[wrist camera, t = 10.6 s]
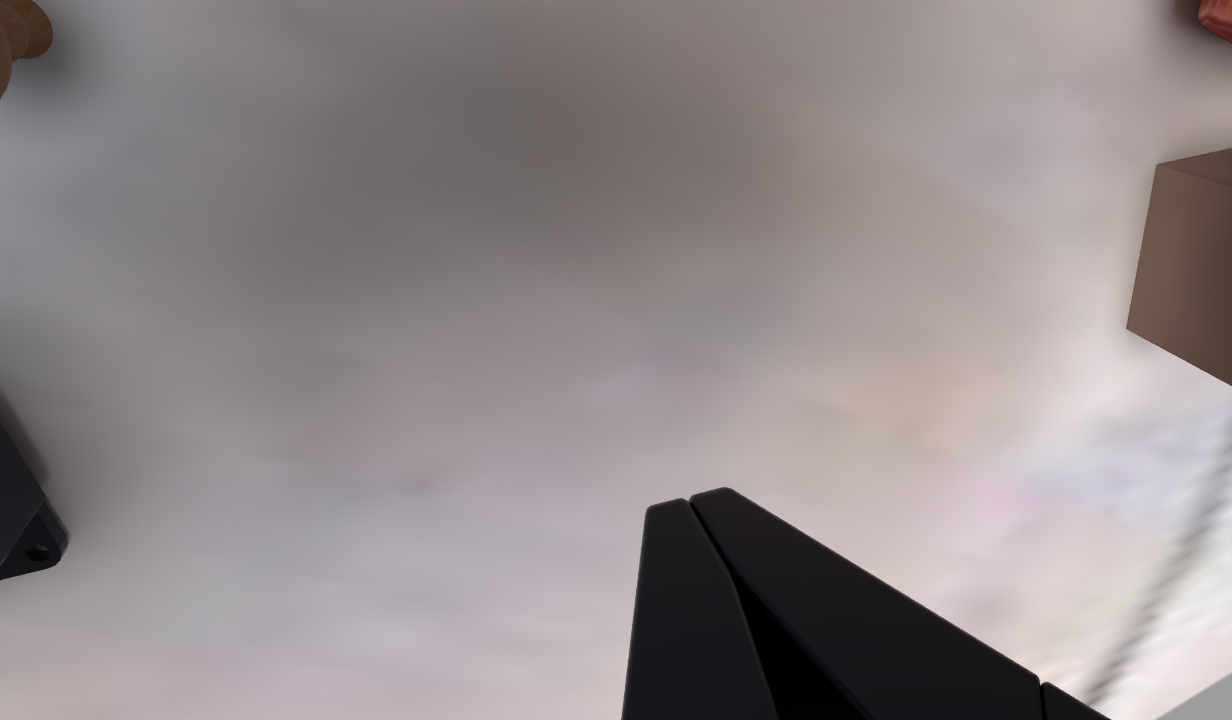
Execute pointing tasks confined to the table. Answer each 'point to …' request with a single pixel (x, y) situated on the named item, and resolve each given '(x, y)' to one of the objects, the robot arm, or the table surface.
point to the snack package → (1217, 17)
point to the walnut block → (1188, 264)
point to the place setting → (21, 35)
